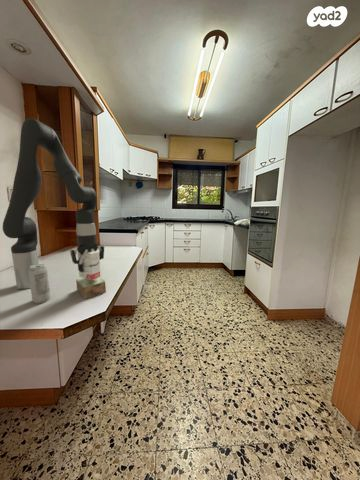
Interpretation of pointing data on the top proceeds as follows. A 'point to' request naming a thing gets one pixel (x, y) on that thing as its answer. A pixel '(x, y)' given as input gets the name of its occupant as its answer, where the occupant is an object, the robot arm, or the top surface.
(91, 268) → the ink box
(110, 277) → the top surface
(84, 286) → the stand
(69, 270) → the top surface
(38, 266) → the energy drink can
